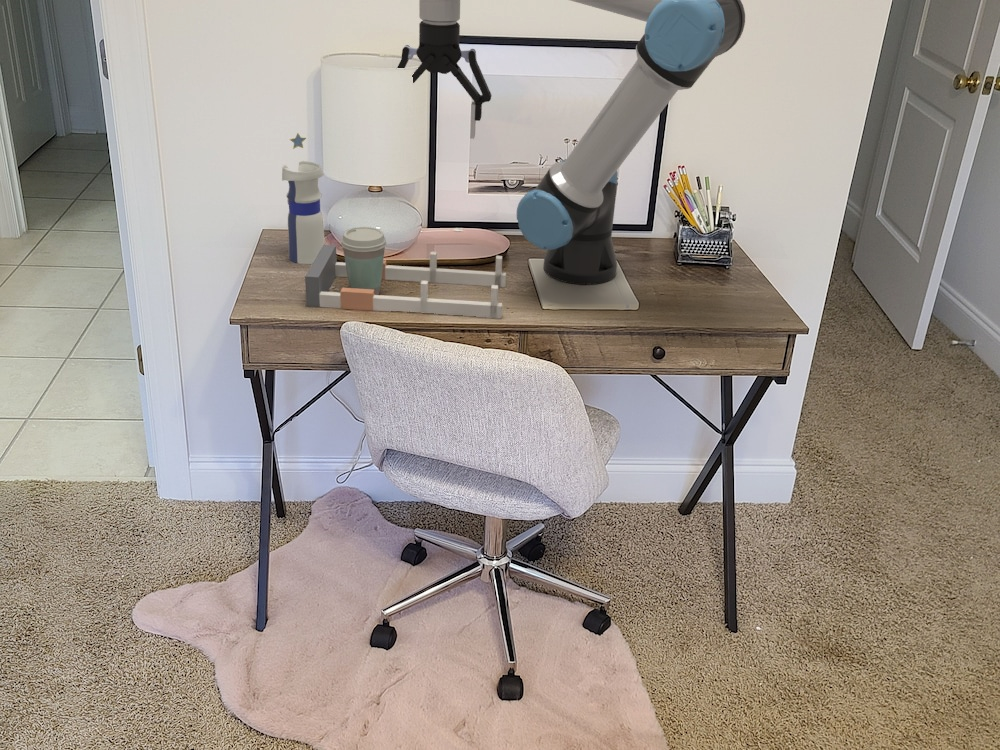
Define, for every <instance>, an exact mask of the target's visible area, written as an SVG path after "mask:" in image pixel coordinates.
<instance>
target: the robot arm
mask: <svg viewBox="0 0 1000 750" xmlns="http://www.w3.org/2000/svg"><path fill="white" fill-rule="evenodd" d="M569 1H570V2H575V3H577V4H581V5H585V6H589V7H592V8H596V9H600V10H603V11H607V12H611V13H613V14H618V15H621V16H623V17H628V18H630V19H631V18H632V19H635V20H639V21H643V22H645V26H644V34H643V35H642V36H641V38H640V39H639V41H638V43H636V46H635V51H636V52H635V53H636V57H637V59H636V61H635V63H633V66H631V68H630V69H629V71H628V72H627V74H626V75H625V76H624V77H623V79H622V80H621V82H620V84H619V85H618V86H617V88H616V89H615V90H614V92H613V93H612V94H611V96H610V98H608V101H607V102H605V104H604V106H603V107H602V109H601V110H600V112H599V113H598V114H597V115H596V117H595V118H594V120H593V121H592V123H591V124H590V126H589V127H588V128H587V130H586V131H585V133H584V134H583V136H582V137H580V139H579V141H578V143H577V144H576V146H575V147H574V148H573V149H572V151H571V152H570V154H569V155H568V156H567V158H564V159H562V160H561V161H560V162H558V161H557V162H554V163H553V164H552V165H551V166H550V168H549V169H548V170H547V172H546V173H545V175H544V176H543V177H542V178H541V180H540V182H539V183H538V184H537V186H536V187H535V188H534V189H532V190H529V191H528V192H526V193H525V194H524V196H523V197H522V198H521V199H520V200H519V202H518V204H517V207H516V220H517V223H518V227H519V231H520V232H521V234H522V235H523V237H524V238H525V239H526V240H527V241H528V242H529V243H530V244H532V245H533V246H535V247H536V248H538V249H542V250H546V253H545V255H544V258H543V270H544V272H545V273H546V274H547V276H549V277H551V278H553V279H555V280H558V281H560V282H561V281H562V282H564V283H569V284H575V285H595V284H596V285H597V284H602V283H605V282H606V283H607V282H609V281H611V280H612V279H614V278H615V277H616V275H617V268H618V261H617V257H616V253H615V248H614V244H613V239H612V234H613V225H614V216H615V207H616V199H617V198H616V197H617V189H618V185H619V183H618V170H619V168H620V167H621V166H622V164H623V163H624V162H625V160H626V159H627V158H628V157H629V156H630V154H631V152H632V151H633V150H634V149H635V147H636V146H637V145H638V143H639V142H640V141H641V139H642V138H643V136H644V135H645V134H646V132H647V131H648V130H649V129H650V128H651V126H652V125H653V124H654V122H655V120H656V119H658V117H659V116H660V115H661V113H662V112H663V110H664V109H665V108H666V107H667V105H668V104H669V103H670V102H671V100H672V99H673V97H674V96H675V95H676V94H677V92H678V91H680V90H681V91H682V90H688V89H692V88H693V86H694V84H696V82H697V81H698V79H699V78H700V77H701V76H702V75H703V73H704V72H705V70H706V69H707V68H708V67H709V65H710V64H711V63H712V62H713V61H714V60H715V58H717V57H718V56H721V55H723V54H725V53H727V52H728V51H729V50H731V49H732V48H733V47H734V46H735V45H737V43H738V42H739V40H740V38H741V36H742V35H743V32H744V28H745V25H746V11H745V8H744V4H743V2H742V0H569ZM418 5H419V6H418V7H419V14H418V15H419V19H420V20H422V21H420V22H419V23H418V25H419V26H418V27H419V31H418V32H419V37H418V41H419V44H418V48H417V47H412V46H410V45H408V44H406V45H404V47H403V48H402V50H401V51H402V52H401V58H400V59H401V60H400V61H399V64H398V65H397V67H396V69H397V68H405V69H406V66H407V64H408V62H409V60H412V59H414V56H416V57H417V58H418V59H419V61H420V63H421V64H420V65H419V66H418V67H417V68H418V69H415V71H413V73H414V74H413V73H412V74H413V75H412V74H411V75H412V77H413V83H414V84H415V83H416V81H418V79H419V78H420V77H421V76H422V74H424V72H426V71H427V72H429V73H430V74H436V73H439V74H444V75H447V74H449V73H451V74H452V75H453V77H454V78H456V80H457V81H458V82H459V84H460V85H461V86H462V88H463V89H464V90H465V91H466V93H467V94H468V96H469V97H470V98H471V100H472V102H471V104H470V130H469V131H470V133H469V134H470V135H469V138H470V140H471V139H473V140H474V139H475V136H476V121H478V122H479V121H481V119H482V113H483V112H482V107H483V106H482V105H483V104H484V103H488V102H490V101H491V99H492V93H491V91H490V89H489V86H488V83H487V82H486V79H485V77H484V75H483V72H482V70H481V68H480V65H479V63H478V61H477V52H476V49H475V48H470V49H467V50H461V48H460V36H461V35H460V33H461V32H460V31H461V30H460V28H461V27H460V26H461V25H460V22H458V21H459V20H460V19H461V0H419V4H418ZM461 58H462V59H463V58H464V60H465V63H469V68H470V70H471V72H472V75H473V77H474V79H475V81H476V83H477V85H478V87H479V91H480V92H481V94H480V93H479V92H478V90H477V89H476V87H475V86H474V85H473V83H472V82H471V81H470V79H468V77H467V76H466V75H465V73H464V71H462V69H461V67H460V66H459V64H458V63H459V62H460V60H461Z"/></svg>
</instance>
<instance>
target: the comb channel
mask: <svg viewBox="0 0 1000 750" xmlns="http://www.w3.org/2000/svg"><path fill="white" fill-rule="evenodd" d="M429 253H430V254H429V267H423V266H420V267H419V266H407V265H406V266H405V265H403V266H402V265H393V264H391V265H389V264H387V260H386V259H383V269H382V278H381V281H388V280H389V281H402V282H416V283H420V297H415V296H402V295H401V296H399V295H398V296H397V295H396V296H395V295H383V294H380V295H379V294H378V295H374V290H373V289H357V288H349V287H341V289H340V292H336V291H329V290H330V288H331V286H332V284H333V282H334V280H335V279H336V277H337V278H338V277H339V278H348V277H347V270H346V264H345V261H344V262H343V261H338V260H337V246H336V245H334V244H333V245H331V244H325V245H323V246H322V248H321V250H320V252H319V253H318V255H317V257H316V258H315V260H314V262H313V264H310V267H309V269H308V271H307V272H306V274H305V276H304V283H305V300H306V307H312V308H313V307H316V308H318V307H319V308H332V309H342V310H343V309H344V310H358V311H372V312H373V311H378V312H391V311H408V312H409V311H410V312H424V313H434V314H433V315H438V314H447V315H446V316H453V315H463V316H462V317H469V316H476V317H475V318H485V317H486V318H487V319H488V318H489V319H502V315H503V303H502V302H498V300H499V299H498V297H499V296H498V295H499V288H506V283H507V282H506V280H507V272H503V271H502V270H503V256H502V255H496V256H495V269H494V270H495V271H487V270H486V271H485V270H484V271H483V270H471V269H469V270H467V269H455V268H454V269H452V268H451V269H450V268H437V266H438V264H437V263H438V251H430V252H429ZM429 283H432V284H449V285H464V286H465V285H466V286H480V287H483V286H484V287H491V288H490V301H475V300H461V299H444V298H430V297H429ZM435 313H436V314H435Z"/></svg>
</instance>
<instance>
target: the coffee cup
mask: <svg viewBox="0 0 1000 750" xmlns="http://www.w3.org/2000/svg"><path fill="white" fill-rule="evenodd" d="M340 240H341V242H340V246H342V249H343V255H344V262H345V264H346V270H347V277H346V278H347V281H348V282H347V283H348V288H357V289H373V290H374V295H379V294H380V293H381V285H382V280H381V278H382V269H383V260H385V259H384V256H385V247H386V246H387V238H386V237H385V234H384V231H382V230H381V229H379V228H376V227H372V226H370V227H369V226H357V227H351V228H349V229H347V230H345V231H343V236H342V238H341V239H340Z"/></svg>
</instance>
